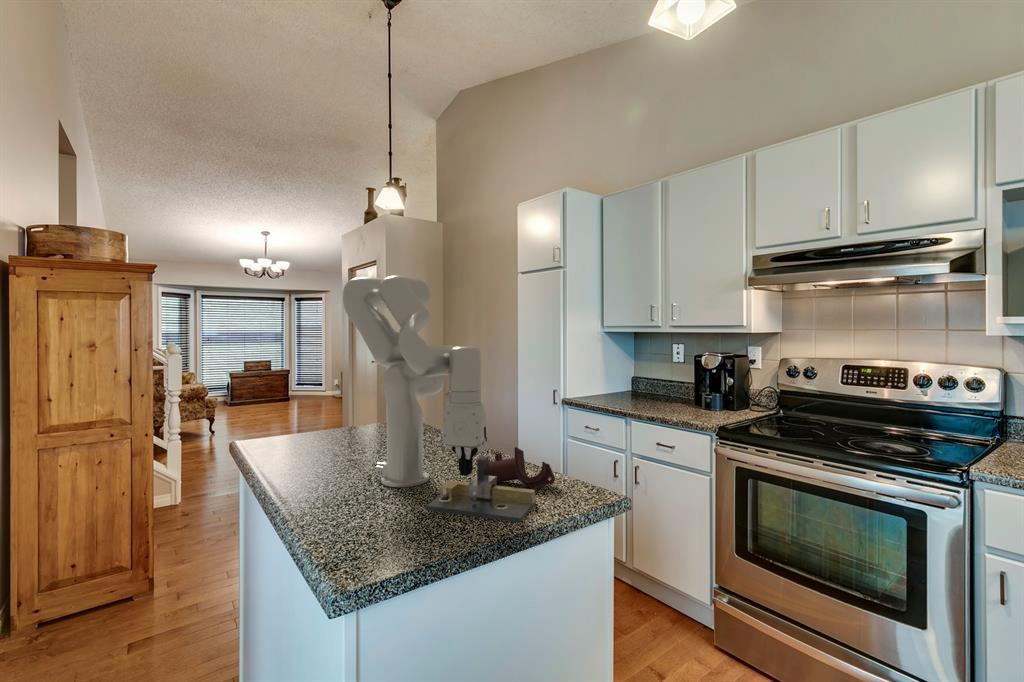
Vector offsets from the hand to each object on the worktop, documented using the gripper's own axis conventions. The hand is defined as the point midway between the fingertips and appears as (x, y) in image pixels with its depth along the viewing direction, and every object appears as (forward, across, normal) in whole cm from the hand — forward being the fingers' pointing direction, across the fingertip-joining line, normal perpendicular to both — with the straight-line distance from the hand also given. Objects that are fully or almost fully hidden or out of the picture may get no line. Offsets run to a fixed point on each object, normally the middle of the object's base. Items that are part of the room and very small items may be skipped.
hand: (465, 474), depth 113 cm
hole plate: (+6, +6, -4) cm, 9 cm away
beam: (+5, +6, -2) cm, 8 cm away
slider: (+4, +4, -2) cm, 6 cm away
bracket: (+6, +9, +15) cm, 18 cm away
